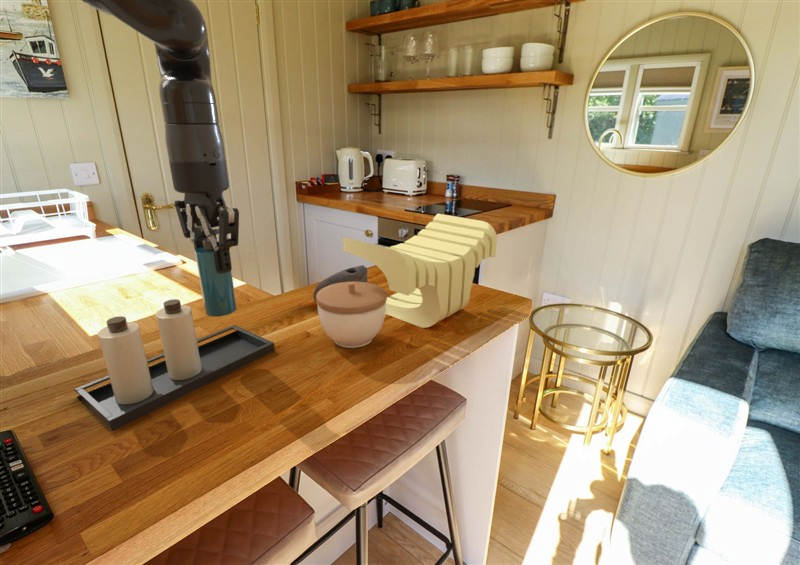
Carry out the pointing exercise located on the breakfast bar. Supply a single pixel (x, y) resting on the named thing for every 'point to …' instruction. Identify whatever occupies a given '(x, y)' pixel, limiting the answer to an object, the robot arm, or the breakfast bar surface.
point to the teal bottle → (214, 283)
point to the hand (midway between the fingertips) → (214, 268)
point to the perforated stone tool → (344, 278)
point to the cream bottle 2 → (178, 340)
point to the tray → (215, 364)
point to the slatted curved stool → (431, 267)
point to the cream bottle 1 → (125, 360)
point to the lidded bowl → (351, 312)
